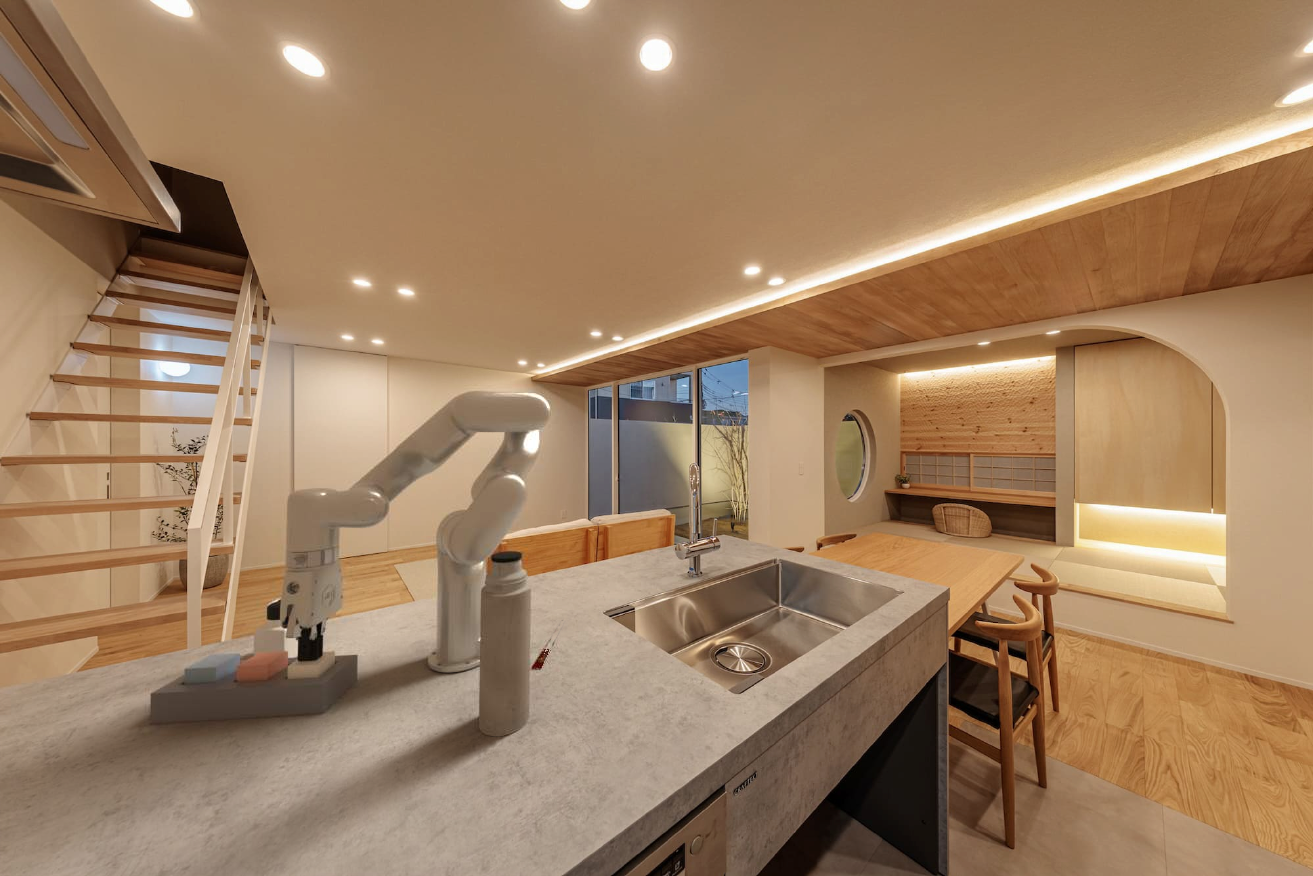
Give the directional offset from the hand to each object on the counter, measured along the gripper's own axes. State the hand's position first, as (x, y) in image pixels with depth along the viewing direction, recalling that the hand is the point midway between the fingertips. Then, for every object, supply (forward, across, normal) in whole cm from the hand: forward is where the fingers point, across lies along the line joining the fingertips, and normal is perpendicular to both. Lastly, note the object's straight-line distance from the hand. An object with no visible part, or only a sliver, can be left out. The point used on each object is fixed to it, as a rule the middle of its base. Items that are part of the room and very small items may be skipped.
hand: (310, 658), depth 77 cm
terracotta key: (+3, 0, +8) cm, 8 cm away
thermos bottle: (+7, -10, -36) cm, 38 cm away
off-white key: (+4, 0, 0) cm, 4 cm away
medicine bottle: (+7, +17, +16) cm, 24 cm away
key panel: (+7, 0, +8) cm, 10 cm away
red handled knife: (+7, +18, -41) cm, 45 cm away
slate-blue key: (+3, 0, +16) cm, 16 cm away
